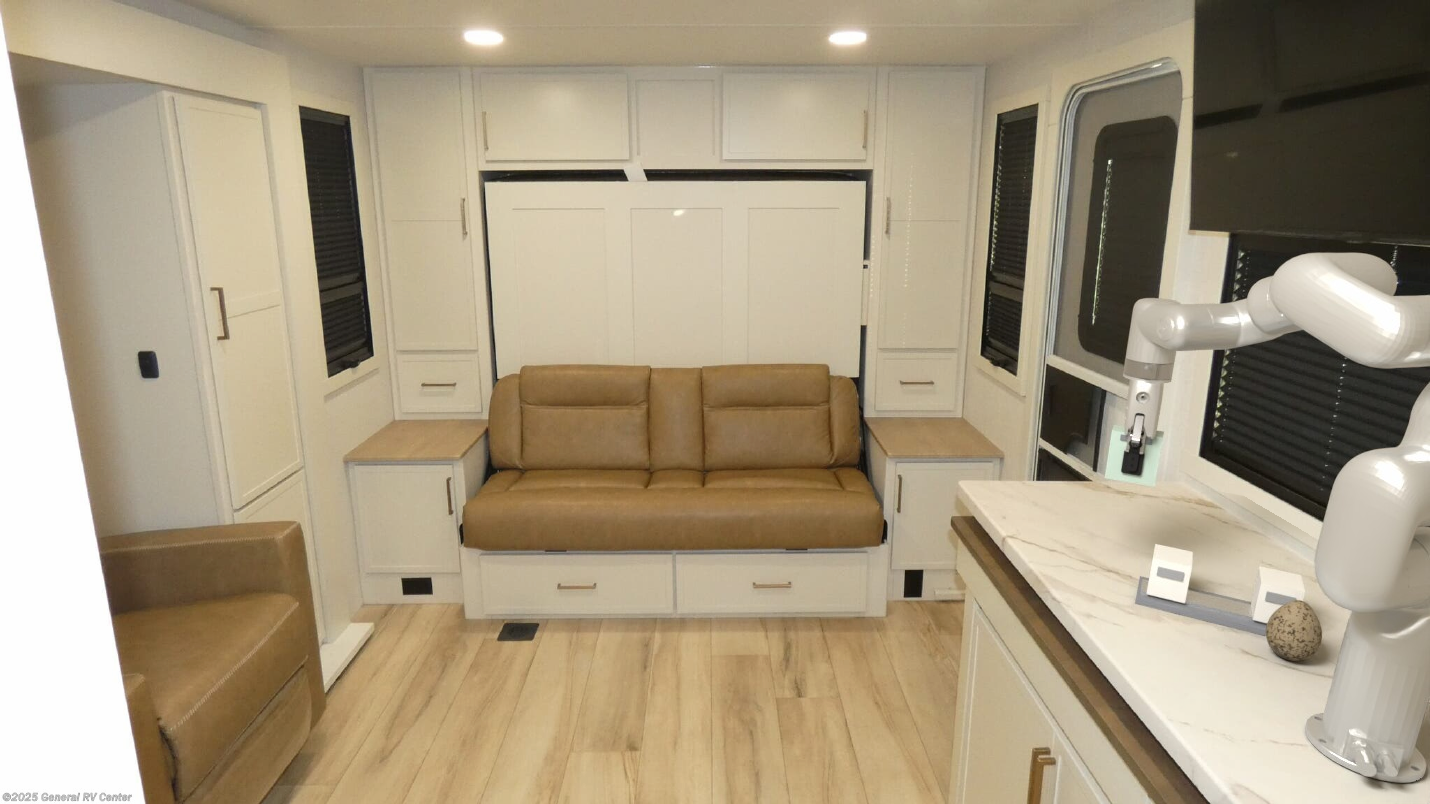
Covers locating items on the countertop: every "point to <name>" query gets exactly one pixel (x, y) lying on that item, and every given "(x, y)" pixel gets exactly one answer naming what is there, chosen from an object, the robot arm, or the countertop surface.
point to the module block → (1149, 463)
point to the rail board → (1175, 596)
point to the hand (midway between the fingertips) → (1132, 468)
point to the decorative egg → (1294, 631)
